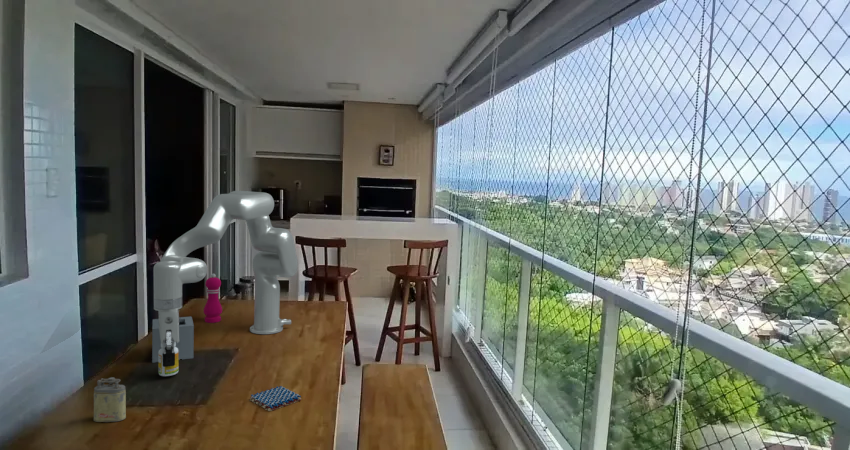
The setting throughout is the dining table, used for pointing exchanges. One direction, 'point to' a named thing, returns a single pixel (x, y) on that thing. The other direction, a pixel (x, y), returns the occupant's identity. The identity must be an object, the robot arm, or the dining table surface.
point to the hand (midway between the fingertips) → (168, 361)
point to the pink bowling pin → (213, 300)
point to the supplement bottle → (169, 369)
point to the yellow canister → (109, 401)
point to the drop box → (183, 345)
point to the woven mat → (275, 398)
